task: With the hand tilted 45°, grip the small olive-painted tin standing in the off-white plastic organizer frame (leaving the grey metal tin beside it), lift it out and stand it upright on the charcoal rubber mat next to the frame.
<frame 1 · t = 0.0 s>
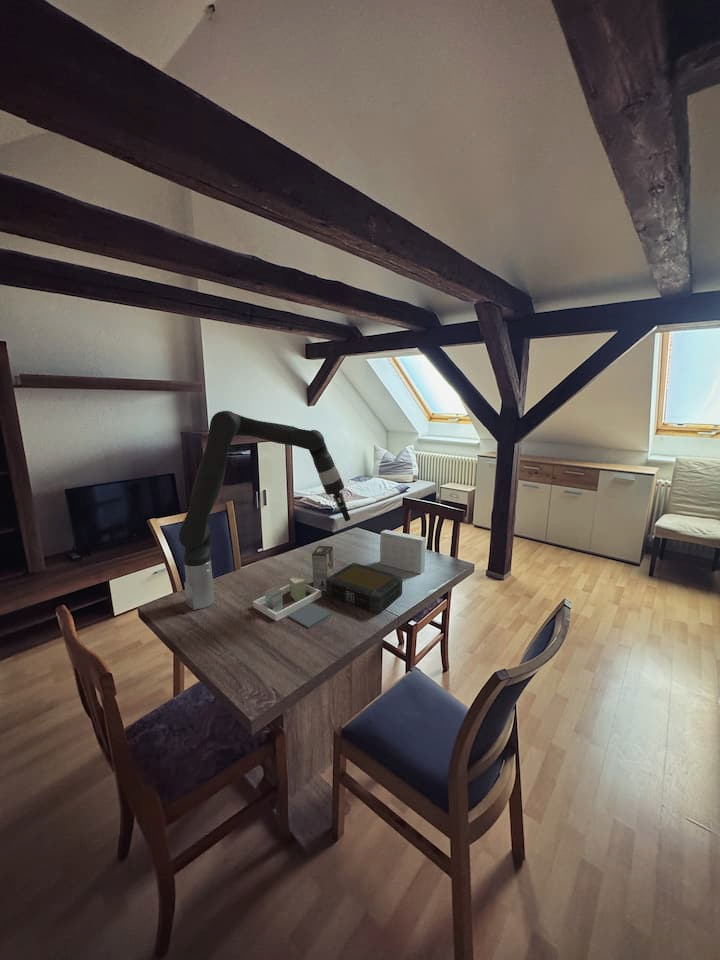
hand: (346, 516, 149), 31 cm above the table, tool tilted 20°, fingers open, 8 cm apart
charcoal mat: (309, 615, 138), on the table
organizer: (288, 601, 147), on the table
grey tin: (274, 609, 142), resting in organizer
cash box: (364, 596, 152), on the table
skincare box: (401, 567, 177), on the table
coffee box: (323, 585, 160), on the table
olive tin: (298, 596, 151), resting in organizer
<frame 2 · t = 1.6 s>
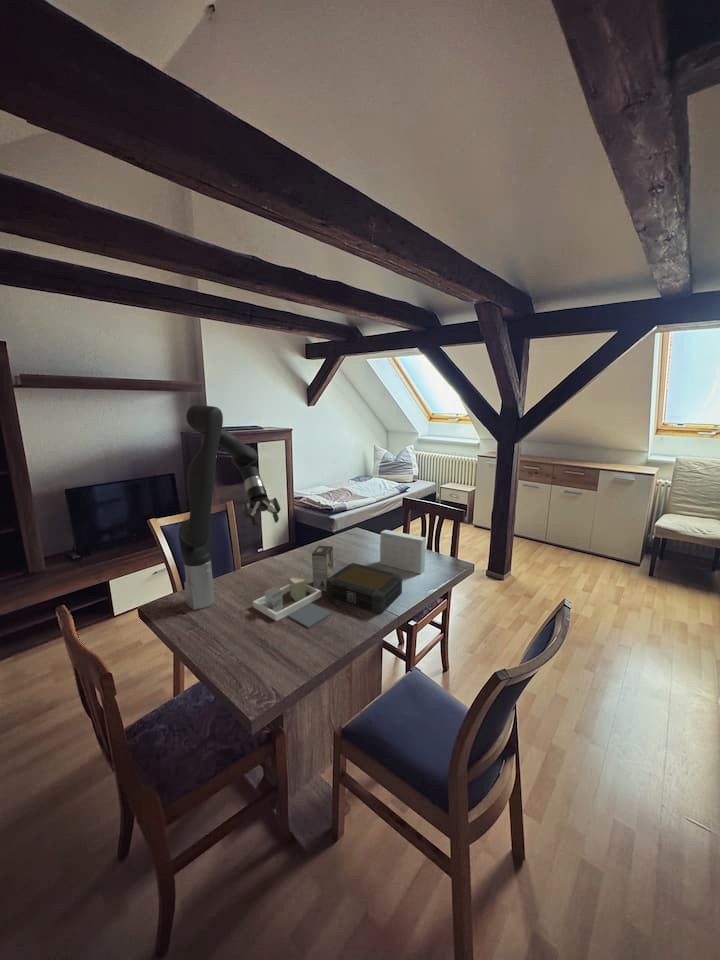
hand: (266, 523, 150), 28 cm above the table, tool tilted 45°, fingers open, 8 cm apart
nothing on the table moved.
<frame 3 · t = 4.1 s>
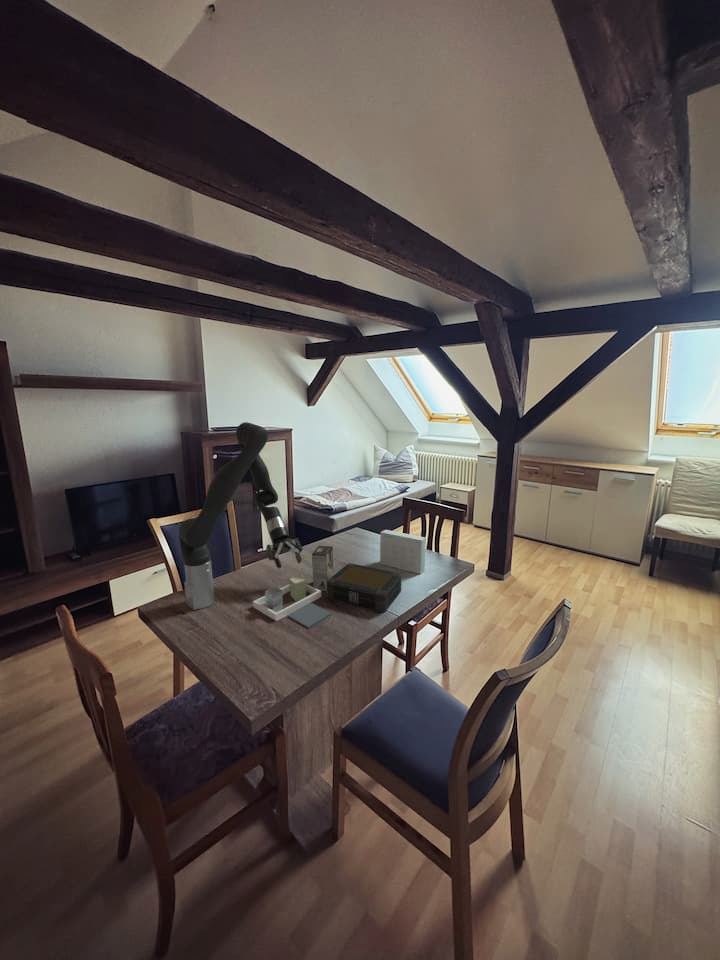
hand: (290, 565, 154), 11 cm above the table, tool tilted 45°, fingers open, 8 cm apart
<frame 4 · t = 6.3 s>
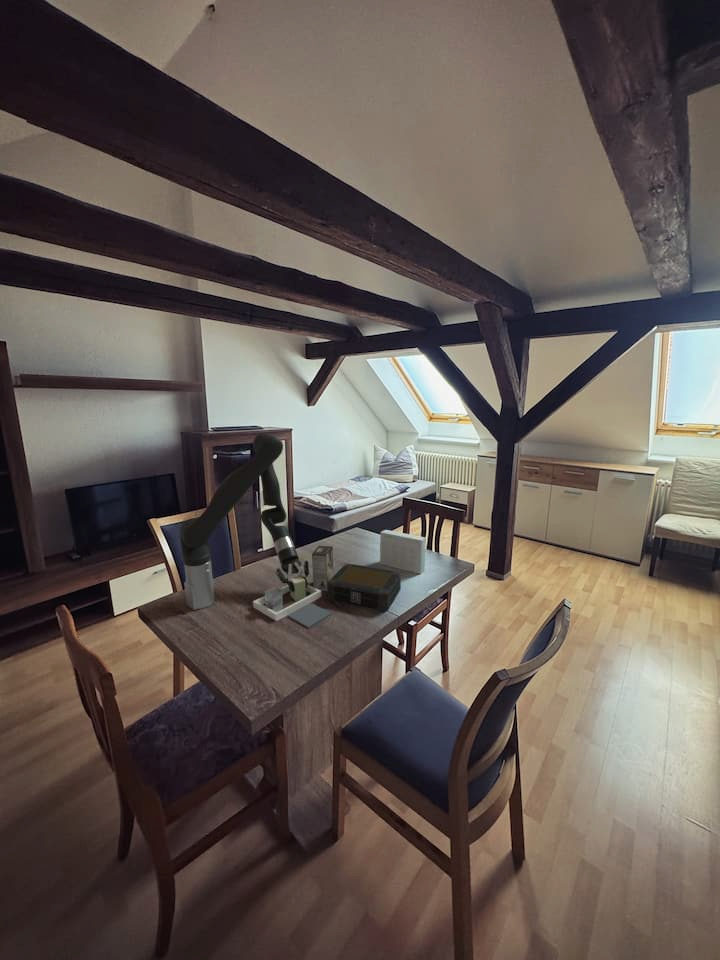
hand: (299, 589, 148), 4 cm above the table, tool tilted 45°, fingers closed on olive tin, 4 cm apart
olive tin: (298, 596, 151), resting in organizer, touching gripper
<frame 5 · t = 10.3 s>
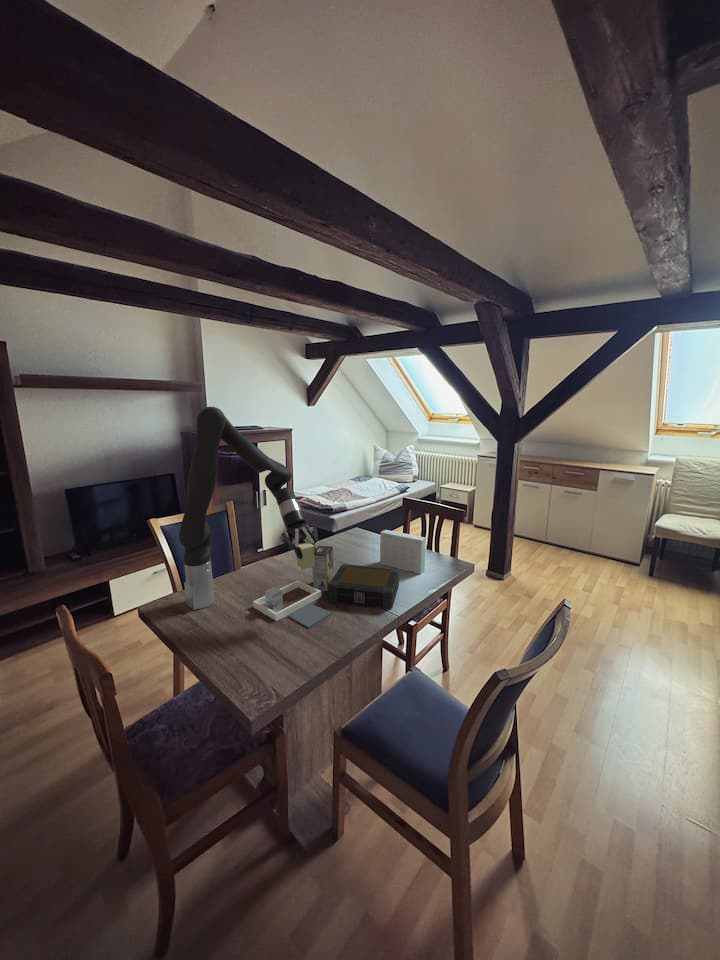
hand: (308, 556, 132), 24 cm above the table, tool tilted 45°, fingers closed on olive tin, 4 cm apart
olive tin: (306, 565, 134), point 19 cm above the table, touching gripper
when the fingers open (6 cm above the table, at t = 13.8 s): olive tin drops 1 cm, resting on charcoal mat.
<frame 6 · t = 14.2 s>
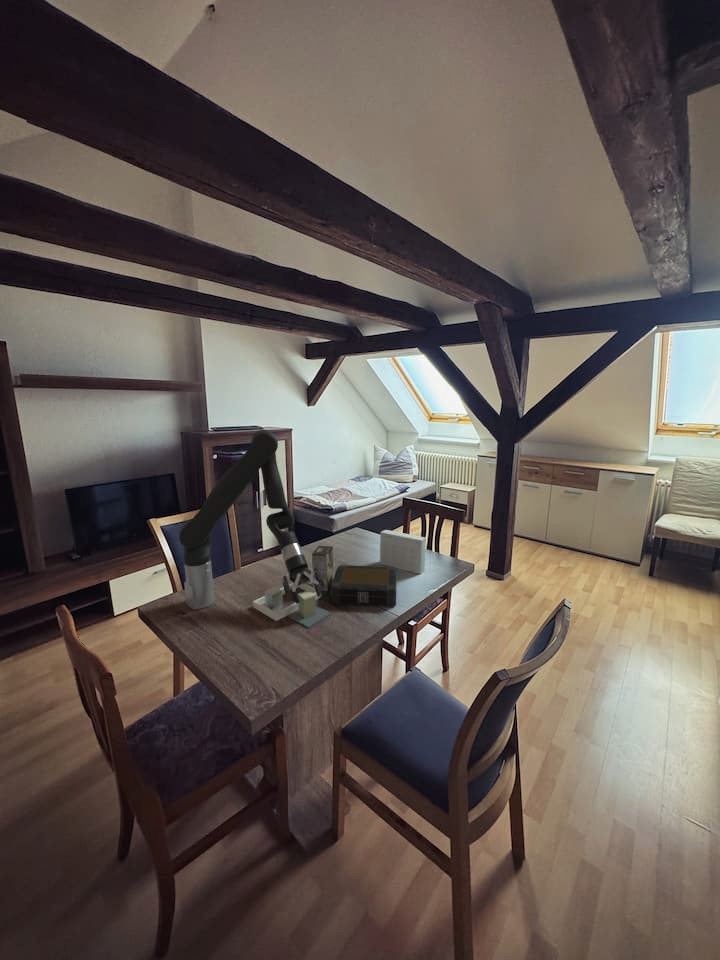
hand: (309, 599, 136), 7 cm above the table, tool tilted 45°, fingers open, 8 cm apart
olive tin: (307, 613, 138), point 1 cm above the table, touching charcoal mat
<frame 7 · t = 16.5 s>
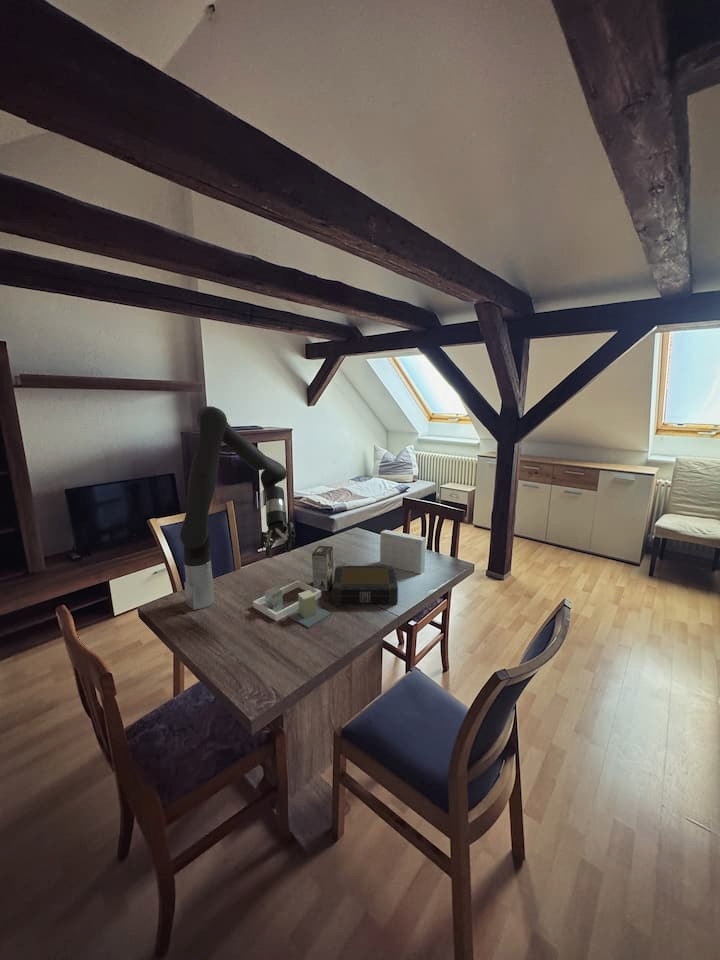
hand: (278, 554, 137), 22 cm above the table, tool tilted 40°, fingers open, 8 cm apart
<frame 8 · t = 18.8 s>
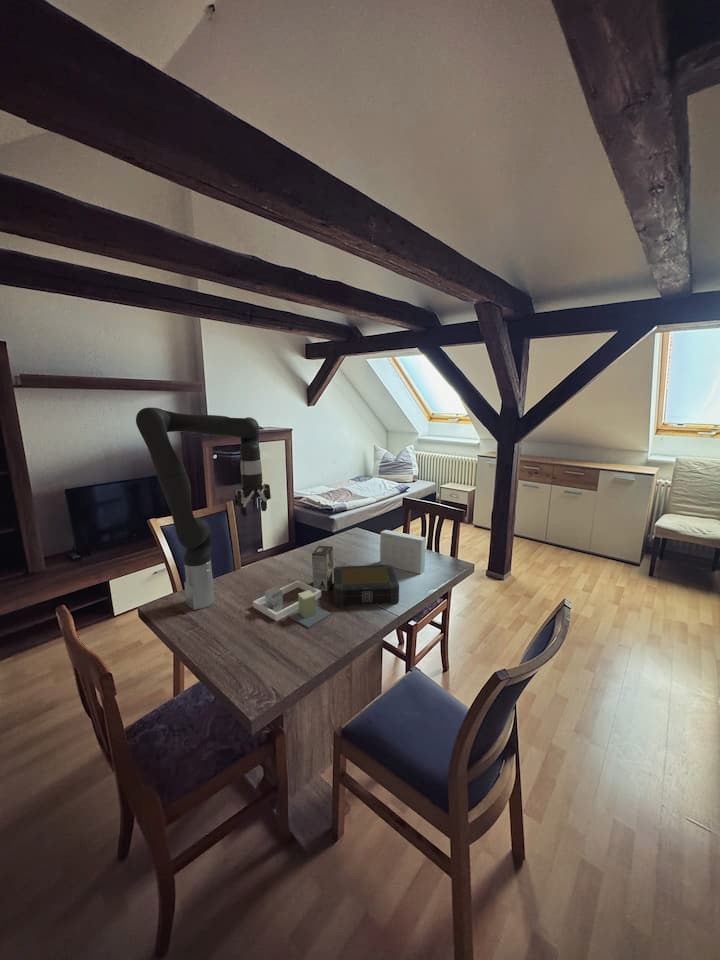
hand: (254, 513, 145), 34 cm above the table, tool pointing down, fingers open, 8 cm apart
at the end: olive tin 1.1 cm from the charcoal mat (horizontally); olive tin tilted 0°; the gripper is holding nothing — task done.
